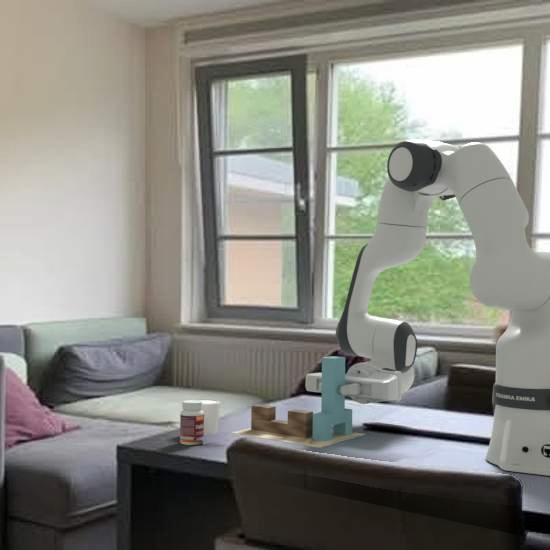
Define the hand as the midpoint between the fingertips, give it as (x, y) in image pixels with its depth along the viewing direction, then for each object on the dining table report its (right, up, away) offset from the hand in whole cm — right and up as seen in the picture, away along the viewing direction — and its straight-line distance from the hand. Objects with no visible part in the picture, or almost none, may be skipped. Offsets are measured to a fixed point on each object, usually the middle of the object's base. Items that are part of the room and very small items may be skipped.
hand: (330, 389), depth 158 cm
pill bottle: (-28, -11, 0) cm, 30 cm away
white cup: (-26, -11, +9) cm, 30 cm away
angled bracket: (0, -10, +1) cm, 10 cm away
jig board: (-6, -11, +3) cm, 13 cm away
